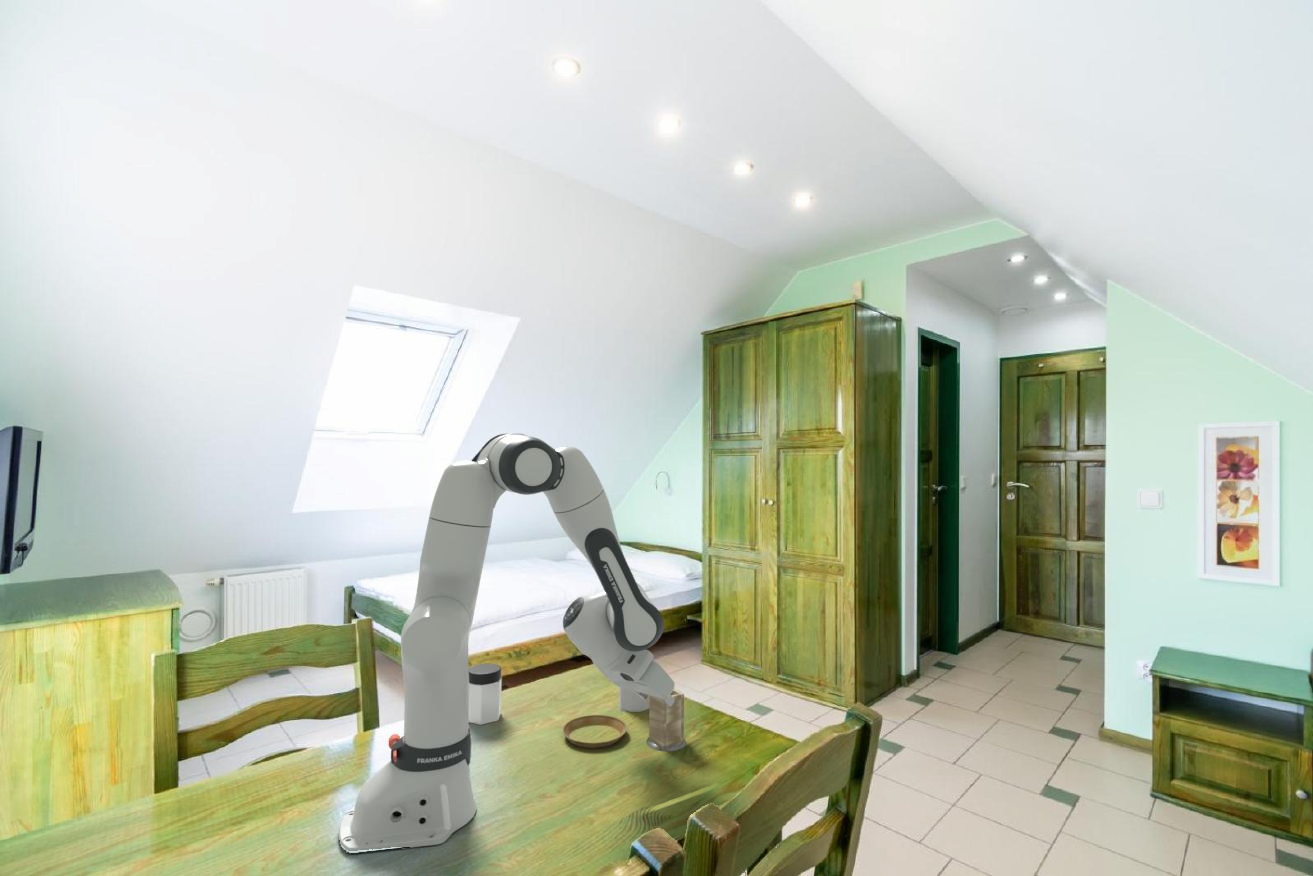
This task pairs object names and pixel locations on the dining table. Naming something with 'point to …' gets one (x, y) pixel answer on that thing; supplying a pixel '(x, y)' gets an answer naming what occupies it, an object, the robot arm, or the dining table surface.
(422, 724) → the robot arm
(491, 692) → the jar
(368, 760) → the dining table surface
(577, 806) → the dining table surface
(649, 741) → the metal lid
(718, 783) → the dining table surface
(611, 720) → the plant saucer
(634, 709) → the white cylinder
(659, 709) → the vase
